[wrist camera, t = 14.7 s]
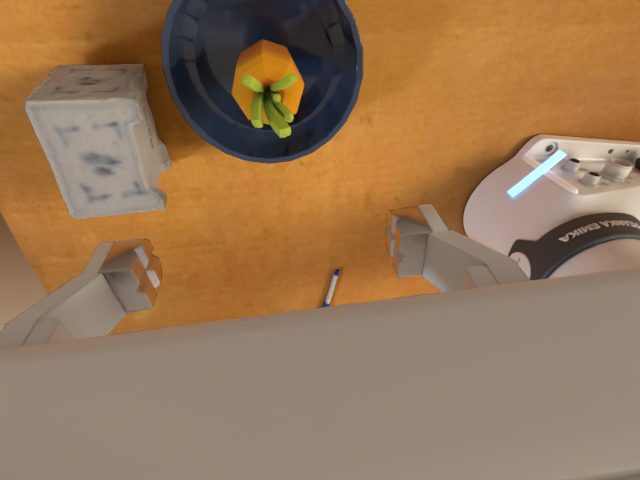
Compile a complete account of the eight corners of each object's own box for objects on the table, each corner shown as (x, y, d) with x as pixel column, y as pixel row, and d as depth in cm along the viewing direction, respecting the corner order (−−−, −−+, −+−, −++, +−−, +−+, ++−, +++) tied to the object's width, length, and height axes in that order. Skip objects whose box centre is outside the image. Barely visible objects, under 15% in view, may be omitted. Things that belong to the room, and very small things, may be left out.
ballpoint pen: (324, 318, 57) (325, 323, 56) (319, 318, 57) (320, 323, 56) (339, 268, 51) (340, 273, 50) (333, 267, 51) (334, 272, 50)
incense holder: (184, 163, 39) (163, 220, 31) (98, 163, 38) (54, 222, 30) (165, 62, 33) (133, 100, 25) (63, 58, 32) (-5, 97, 24)
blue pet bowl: (316, -87, 28) (327, -94, 23) (366, 102, 37) (382, 126, 32) (140, -6, 30) (115, 3, 25) (229, 154, 39) (224, 186, 34)
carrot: (232, 26, 31) (214, 74, 20) (291, 19, 31) (307, 63, 20) (244, 87, 34) (235, 160, 23) (298, 80, 34) (315, 149, 23)
